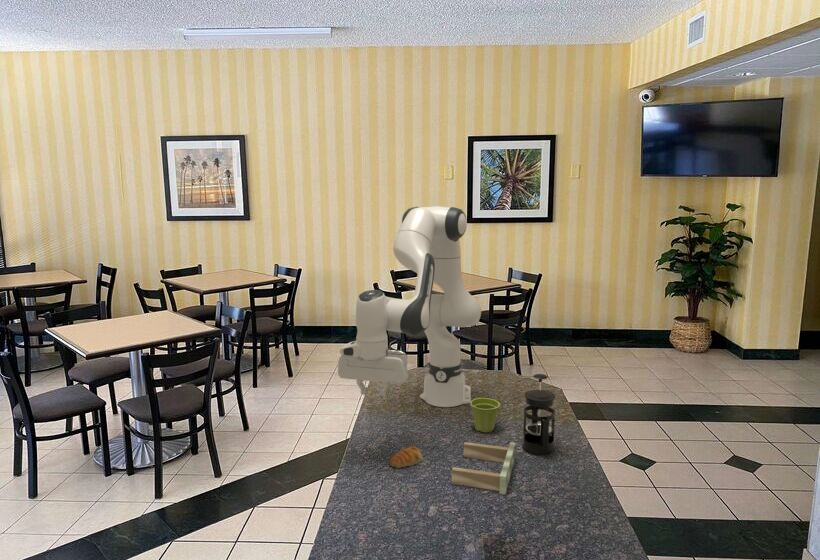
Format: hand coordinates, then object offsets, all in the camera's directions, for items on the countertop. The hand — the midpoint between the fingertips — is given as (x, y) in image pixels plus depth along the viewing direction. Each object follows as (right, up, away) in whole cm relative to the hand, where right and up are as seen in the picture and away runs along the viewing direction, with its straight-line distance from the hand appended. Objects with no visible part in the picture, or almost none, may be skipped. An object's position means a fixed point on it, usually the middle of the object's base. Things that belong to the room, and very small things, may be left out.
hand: (373, 394), depth 170 cm
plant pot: (+35, -15, +22) cm, 44 cm away
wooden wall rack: (+30, -20, -6) cm, 37 cm away
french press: (+49, -18, +7) cm, 53 cm away
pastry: (+10, -20, +1) cm, 22 cm away
